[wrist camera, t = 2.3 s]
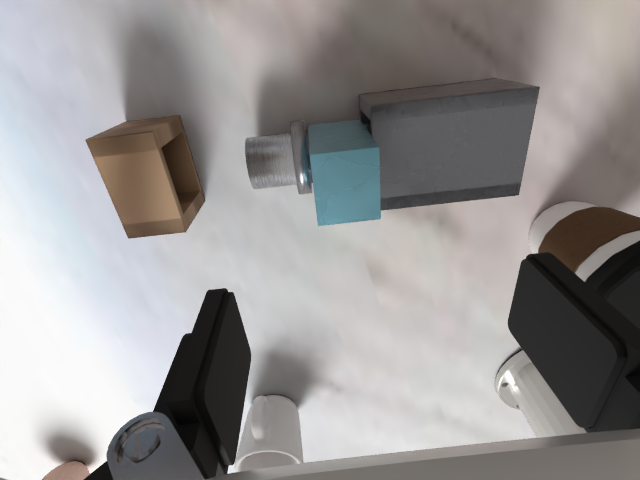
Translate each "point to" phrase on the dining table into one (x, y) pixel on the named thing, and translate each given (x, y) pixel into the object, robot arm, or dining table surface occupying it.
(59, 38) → the dining table surface
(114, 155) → the cardboard box
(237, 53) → the dining table surface
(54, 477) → the egg
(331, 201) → the plug
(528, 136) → the sleeve
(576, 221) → the coffee cup
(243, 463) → the cup
